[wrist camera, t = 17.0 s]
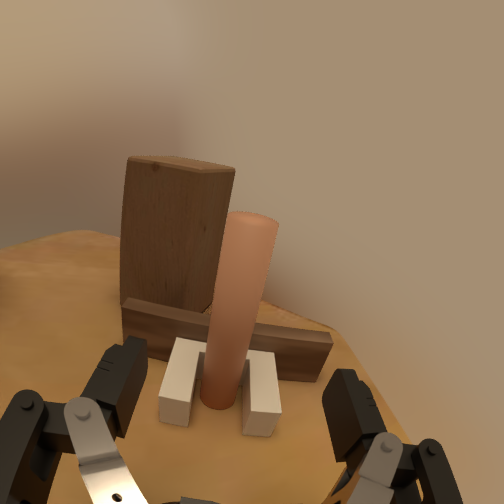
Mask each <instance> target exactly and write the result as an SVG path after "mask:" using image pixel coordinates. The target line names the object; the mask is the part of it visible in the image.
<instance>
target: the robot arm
mask: <svg viewBox="0 0 504 504" xmlns="http://www.w3.org/2000/svg"><path fill="white" fill-rule="evenodd" d="M147 369H148V358H147V340H146V339H142V338H138V337H134V336H131V335H129V336H128V337H127V339H126V341H125V342H124V344H123V346H121V345H117V344H114V345H113V346H112V347H110V348H109V349H107V350H106V351H105V353H104V355H103V357H102V358H101V361H100V362H99V364H98V365H97V368H96V369H95V371H94V372H93V374H92V376H91V378H90V380H89V381H88V383H87V385H86V387H85V389H84V391H83V392H82V394H81V396H80V397H77V398H73V399H71V400H70V401H69V402H68V403H54V402H47V401H43V399H42V397H41V396H40V395H39V394H38V393H37V392H35V391H33V390H22V391H19V392H18V393H16V394H15V395H14V397H13V398H12V400H11V402H10V404H9V405H8V407H7V409H6V411H5V413H4V414H3V416H2V418H1V420H0V504H47V500H48V496H49V493H50V489H51V486H52V483H53V480H54V476H55V473H56V470H57V467H58V464H59V461H60V458H61V455H62V452H63V453H71V454H76V455H77V458H78V461H79V469H80V472H81V475H82V478H83V480H84V482H85V485H86V487H87V489H88V492H89V494H90V496H91V498H92V500H93V503H94V504H148V503H147V502H146V500H145V499H144V497H143V495H142V494H141V492H140V490H139V488H138V487H137V485H136V483H135V481H134V480H133V478H132V476H131V474H130V472H129V470H128V468H127V466H126V464H125V462H124V460H123V459H122V457H121V455H120V454H119V452H118V449H117V447H116V445H115V443H114V442H115V439H116V436H117V437H120V438H125V435H126V432H127V429H128V426H129V423H130V420H131V417H132V414H133V412H134V409H135V406H136V403H137V400H138V398H139V395H140V392H141V389H142V387H143V384H144V381H145V378H146V375H147ZM322 404H323V408H324V412H325V416H326V421H327V425H328V429H329V433H330V437H331V441H332V446H333V450H334V454H335V459H336V462H346V464H347V466H346V467H345V468H344V470H343V472H342V473H341V475H340V477H339V478H338V480H337V482H336V483H335V485H334V487H333V488H332V490H331V491H330V493H329V494H328V496H327V498H326V499H325V500H324V501H323V502H322V503H321V504H463V502H462V498H461V495H460V492H459V490H458V487H457V484H456V481H455V478H454V476H453V473H452V470H451V468H450V465H449V463H448V460H447V458H446V455H445V453H444V451H443V448H442V446H441V444H439V442H437V441H436V440H434V439H425V440H423V441H422V442H421V443H420V444H419V445H410V444H403V443H402V442H401V440H400V439H399V438H398V437H397V436H396V435H394V434H392V433H388V432H387V430H386V427H385V425H384V422H383V420H382V417H381V415H380V412H379V410H378V407H376V402H375V400H374V399H373V395H372V393H371V390H370V388H369V387H368V386H367V385H366V384H365V383H364V382H363V381H359V379H358V377H357V374H356V372H355V370H353V369H336V370H335V372H334V374H333V375H332V377H331V379H330V381H329V383H328V385H327V386H326V388H325V390H324V392H323V396H322ZM417 479H419V481H420V485H421V488H422V491H423V496H424V497H423V501H421V497H420V494H419V490H418V487H417V483H416V480H417ZM163 504H219V503H216V502H213V501H206V500H199V499H192V498H186V497H181V501H180V502H168V503H163Z"/></svg>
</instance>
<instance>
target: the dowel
mask: <svg viewBox="0 0 504 504" xmlns="http://www.w3.org/2000/svg"><path fill="white" fill-rule="evenodd" d="M278 227H279V223H278V222H277V221H275V220H273V219H271V218H269V217H266V216H263V215H259V214H255V213H249V212H230V213H228V215H227V221H226V227H225V232H224V238H223V244H222V250H221V256H220V261H219V268H218V274H217V280H216V286H215V292H214V299H213V305H212V312H211V318H210V325H209V332H208V338H207V345H206V353H205V360H204V367H203V375H202V382H201V390H200V398H201V400H202V402H203V403H204V404H205V405H206V406H208V407H210V408H212V409H217V410H222V409H227V408H229V407H230V406H232V405H233V403H234V401H235V397H236V394H237V390H238V386H239V382H240V379H241V375H242V371H243V367H244V364H245V360H246V356H247V352H248V348H249V344H250V340H251V337H252V333H253V329H254V325H255V321H256V317H257V313H258V309H259V305H260V301H261V297H262V293H263V289H264V285H265V281H266V276H267V273H268V268H269V264H270V260H271V256H272V252H273V248H274V244H275V239H276V235H277V230H278Z"/></svg>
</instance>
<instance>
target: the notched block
mask: <svg viewBox="0 0 504 504" xmlns="http://www.w3.org/2000/svg"><path fill="white" fill-rule="evenodd" d="M206 345H207V343H204V342H199V341H194V340H188V339H183V338H178V337H176V341H175V344H174V347H173V350H172V353H171V356H170V359H169V363H168V366H167V369H166V372H165V376H164V379H163V382H162V386H161V389H160V392H159V417H160V422H164V423H169V424H174V425H179V426H184V427H188V423H189V417H190V411H191V405H192V399H193V394H194V388H195V382H196V379H202V375H203V367H204V360H205V353H206ZM239 385H242V435H250V436H264V437H270V436H271V434H272V432H273V430H274V428H275V426H276V424H277V422H278V420H279V418H280V416H281V414H282V411H281V403H280V395H279V388H278V380H277V372H276V364H275V357H274V353H272V352H264V351H256V350H248V352H247V356H246V360H245V364H244V367H243V371H242V375H241V379H240V382H239Z"/></svg>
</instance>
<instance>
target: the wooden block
mask: <svg viewBox="0 0 504 504" xmlns="http://www.w3.org/2000/svg"><path fill="white" fill-rule="evenodd" d="M234 176H235V168H233V167H229V166H225V165H219V164H214V163H209V162H204V161H198V160H193V159H187V158H181V157H174V156H131V157H129V158H128V160H127V168H126V176H125V185H124V195H123V206H122V221H121V239H120V305H121V306H122V305H123V304H124V302H125V301H126V300H127V298H128V297H129V298H134V299H138V300H142V301H146V302H151V303H155V304H159V305H164V306H169V307H173V308H178V309H183V310H188V311H193V312H198V313H202V312H203V311H204V310H205V308H206V307H207V306H208V305H209V304H210V303H211V302H212V299H213V293H214V287H215V281H216V275H217V269H218V263H219V257H220V251H221V246H222V240H223V235H224V229H225V224H226V218H227V212H228V207H229V202H230V197H231V191H232V187H233V181H234Z"/></svg>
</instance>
